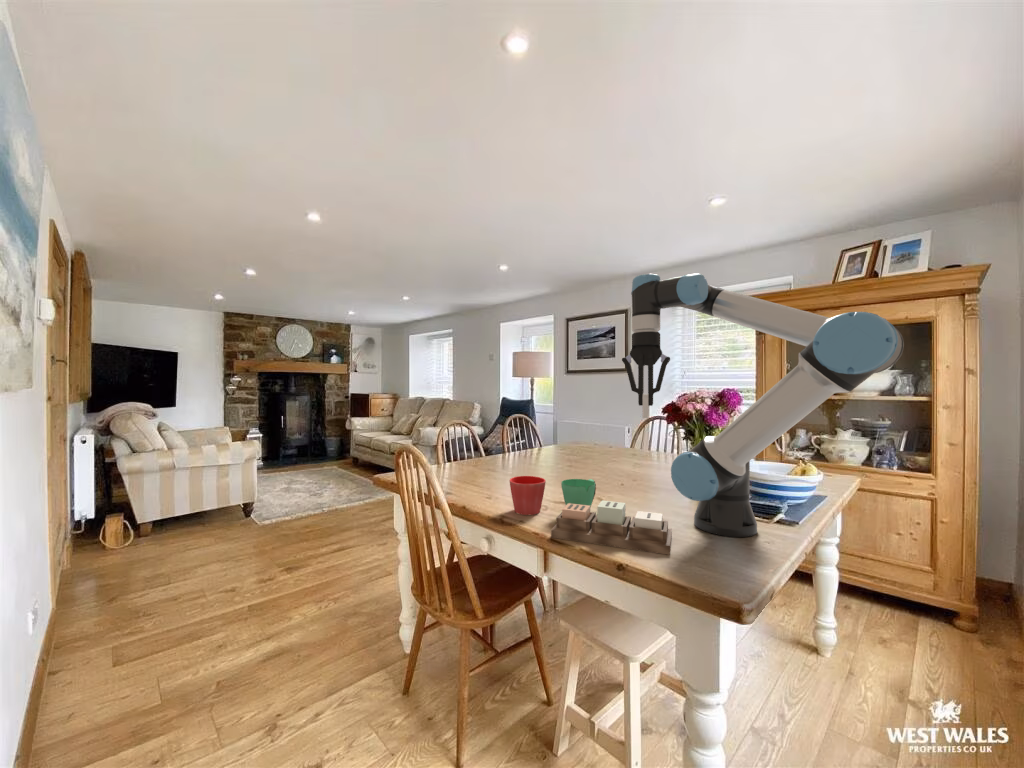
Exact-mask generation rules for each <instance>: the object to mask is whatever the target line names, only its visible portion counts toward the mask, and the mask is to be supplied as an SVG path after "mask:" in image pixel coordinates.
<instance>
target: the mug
mask: <svg viewBox="0 0 1024 768" xmlns="http://www.w3.org/2000/svg"><path fill="white" fill-rule="evenodd" d="M560 484H561V485H560V486H561V491H562V495H563V499H564V504H565V506H566V505H567V504H568V503H571V504H580V505H589V506H590V509H591V507H592V505H593V502H594V499H595V496H596V488H597V485H596V481H595V480H594V479H592V478H588V479H583V478H569V479H564V480H562V481H561V483H560Z"/></svg>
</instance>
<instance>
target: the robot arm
mask: <svg viewBox="0 0 1024 768" xmlns="http://www.w3.org/2000/svg"><path fill="white" fill-rule="evenodd" d="M631 283H632V285H631V293H630V294H631V332H632V334H631V349H630V352H629V354H628V355H627V356H625V357H622V359H621V361H622V363H623V364H624V366H625V369H626V373H627V377H628V381H629V386H630V389H631V392H634V393H637V395H638V400H637V401H638V403H637V404H638V406H641V407H642V419H649V418H650V406H651V407H653V405H654V394H656V393H659V392H660V391H661V387H662V384H663V381H664V380H663V379H664V376H665V372H666V368H667V365H668V364H669V362H670V361H671V358H670V356H667V355H665V354H664V353H663V351H662V349H661V333H660V332H659V331H660V330H661V310H662V309H668V308H669V309H670V308H678V307H679V308H684V309H688V310H691V311H695V312H698V313H701V314H703V315H709V316H711V317H714V318H718V319H720V320H723V321H727V322H730V323H733V324H737V325H739V326H742V327H746V328H748V329H751V330H754V331H757V332H759V333H760V332H761V333H763V334H767V335H770V336H773V337H777V338H780V339H782V340H785V341H789V342H790V343H794V344H797V345H800V346H804V348H803V349H802V350H801V351H800V352H798V362H797V365H796V366H794V367H793V368H792V369H791V370H789V372H787V374H785V375H784V376H783V377H782V378H781V379H780V380H778V382H776V383H775V384H774V385H773V386H772V387H770V389H768V390H767V391H766V392H765V393H764V394H763V395H762V396H761V397H760V398H758V399H757V400H756V401H754V403H752V404H751V405H750V406H749V407H747V409H746V410H744V411H743V412H742V413H741V414H739V416H738V417H737V418H736V419H734V420H733V421H732V422H731V423H730V424H729V425H727V426H726V427H725V429H723V430H722V431H721V432H719V434H718V435H716V436H715V435H714V436H713V435H707V436H705V437H704V438H703V439H702V440H700V441H699V442H698V443H697V444H696V445H695V446H694V447H693V448H691V449H690V450H689V451H686V452H685V451H684V452H682V453H680V454H679V455H678V456H676V457H675V458H674V459H673V461H672V463H671V467H670V475H671V482H672V483H673V485H674V487H675V488H676V489H677V491H678V492H679V493H680V494H681V495H683V496H684V497H685V498H687V499H689V500H691V501H695V502H696V501H697V502H698V504H697V507H696V510H695V513H694V516H693V520H694V521H693V524H694V526H695V527H696V528H698V529H700V530H701V531H704V532H707V533H709V534H713V535H719V536H724V537H730V538H732V537H733V538H749V537H753V536H755V535H756V534H758V522H757V520H756V517H755V514H754V513H755V512H753V509H752V508H753V507H752V505H751V502H750V470H751V469H750V466H751V463H750V462H751V461H752V460H753V459H754V458H755V457H757V455H759V454H760V453H761V452H763V451H764V450H765V449H767V448H768V447H769V446H770V445H771V444H773V443H774V442H775V441H776V440H777V439H779V438H780V437H782V436H783V435H784V434H785V433H787V432H788V431H789V430H790V429H792V428H793V427H795V425H796V424H798V423H799V422H800V421H802V420H803V419H804V418H806V417H807V416H808V415H809V414H810V413H811V412H813V411H814V410H816V409H817V408H818V407H819V406H820V405H822V404H823V403H824V402H826V401H827V400H828V399H829V398H831V397H832V396H834V394H838V393H844V394H845V393H851V392H852V391H853V390H855V389H856V388H857V387H858V386H860V385H861V384H862V383H863V382H865V381H866V380H868V379H869V378H870V377H871V376H873V375H874V374H876V373H877V374H878V373H881V372H883V371H886V370H888V369H889V368H891V367H892V366H893V365H895V364H896V363H897V362H898V360H899V359H900V358H901V357H902V355H903V351H904V346H905V343H904V338H903V335H902V333H901V332H900V331H899V329H898V328H897V327H895V325H893V324H892V323H891V322H890V321H888V320H887V319H886V318H885V317H882V316H880V315H878V314H876V313H872V312H868V311H849V312H844V313H841V314H837V315H835V316H832V317H828V316H824V315H821V314H818V313H815V312H814V313H813V312H811V311H810V312H809V311H807V310H802V309H799V308H795V307H792V306H788V305H784V304H780V303H776V302H772V301H770V300H765V299H762V298H758V297H753V296H750V295H747V294H743V293H739V292H735V291H732V290H728V289H725V288H721V287H717V286H713V285H710V284H708V280H707V278H706V277H705V275H703V274H701V273H691V274H684V275H682V276H675V277H671V278H668V279H667V278H666V279H662V280H661V276H660V275H659V274H654V273H648V274H646V273H645V274H639V275H637V276H635V277H634V278H633V279H632V282H631ZM659 359H660V362H661V365H660V368H659V373H658V376H657V380H656V384H655V387H654V365H656V363H658V361H659ZM632 360H633V361H634V362H635V364H636V365H637V366H638V367H637V369H638V375H637V376H638V378H637V379H638V381H637V384H636V380H635V377H634V372H633V369H632V365H631V363H632ZM645 366H647V393H644V387H645V385H644V383H645V382H644V376H645V375H644V372H645V370H644V369H645ZM637 386H638V387H637Z"/></svg>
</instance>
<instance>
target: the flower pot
mask: <svg viewBox="0 0 1024 768" xmlns="http://www.w3.org/2000/svg"><path fill="white" fill-rule="evenodd" d="M546 484H547V481H546V479H545V478H543V477H541V476H532V475H520V476H514V477H511V478H509V486H510V492H511V498H512V503H513V508H514V512H515V513H516V514H517V513H518V515H521V516H534V515H537V514H539V513H540V512H541V509H542V504H543V500H544V495H545V494H544V493H545V489H546Z"/></svg>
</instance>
